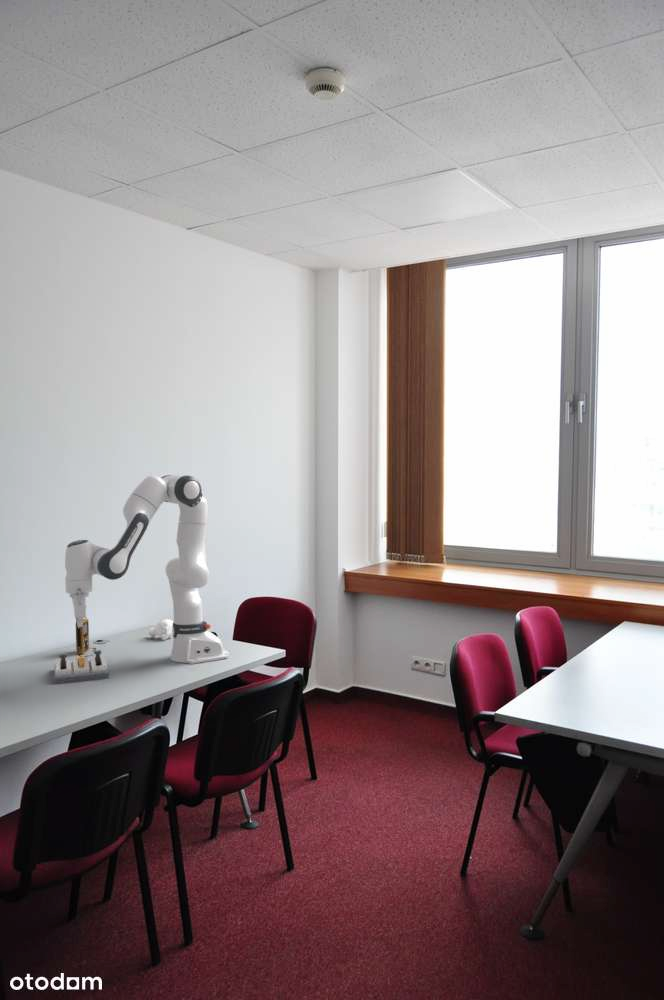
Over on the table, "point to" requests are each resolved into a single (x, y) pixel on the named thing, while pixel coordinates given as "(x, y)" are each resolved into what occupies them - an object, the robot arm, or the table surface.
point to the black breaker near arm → (97, 656)
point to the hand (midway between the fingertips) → (79, 626)
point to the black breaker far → (63, 660)
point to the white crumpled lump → (162, 629)
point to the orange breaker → (81, 661)
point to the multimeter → (82, 638)
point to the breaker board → (81, 670)
